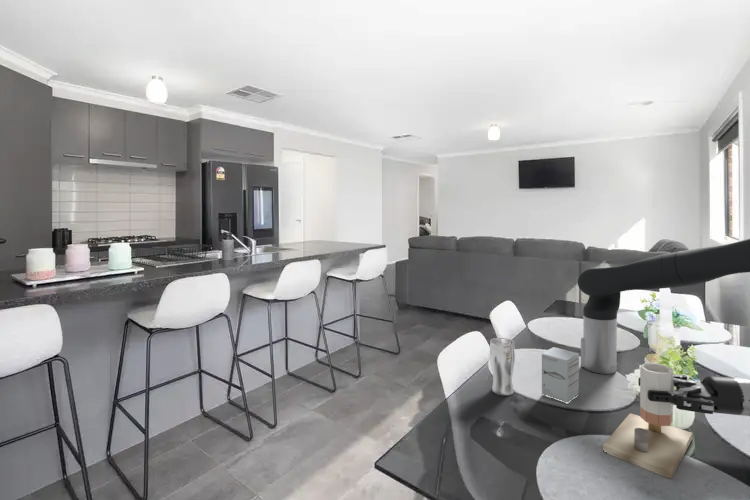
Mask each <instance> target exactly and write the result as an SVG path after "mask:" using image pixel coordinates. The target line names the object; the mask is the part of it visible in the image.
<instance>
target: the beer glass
mask: <svg viewBox="0 0 750 500" xmlns="http://www.w3.org/2000/svg"><path fill="white" fill-rule="evenodd" d="M489 341H490V342H489V343H490V344H489V361H490V367H491V373H492V378H493V379H492V380H493V382H492V387H491V390H492V393H494V394H495V395H498V396H502V397H506V396H512V395H513V394H514V392H515V389H514V384H513V377H514V371H515V370H514V369H515V362H516V351H515V341H514V340H513V339H511V338H508V337H507V338H506V337H494V338H491V339H490V340H489Z"/></svg>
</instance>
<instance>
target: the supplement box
mask: <svg viewBox="0 0 750 500" xmlns="http://www.w3.org/2000/svg"><path fill="white" fill-rule="evenodd" d="M579 381H580V353H579V352H576V351H575V352H574V351H570V350H567V349H563V348H559V347H557V346H556V347H554V346H552V347H551V348H549V349H547V350H545V351H544V352H542V353H541V395H542V394H544V395H548V396H550V397H553V398H556V399H559V400H562V401H564V402H569V401H570V400H572V399H573V398H574V397H576V396H577V395H578V396H579V390H580V389H579V387H580V382H579ZM576 398H577V397H576Z"/></svg>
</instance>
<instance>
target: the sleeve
mask: <svg viewBox="0 0 750 500" xmlns="http://www.w3.org/2000/svg"><path fill="white" fill-rule="evenodd" d="M639 368H640V369H639V371H640V372H639V374H640V376H639V378H640V386H639V416H640V417H641V418H642V419H643V420H644V421H645V422H647V423H651V424H654V425H657V426H672V423H673V419H674V418H673V415H674V412H673V410H674V405H671V404H670V402H669V403H667V402H656V401H650V400H649V399H648V390H657V391H668V392H669V394H670V392H673V374H674V369H672V367H671V368H670V367H669V366H668V365H664V364H659V363H655V362H646V363H642V364H641V365H640V367H639Z"/></svg>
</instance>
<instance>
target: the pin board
mask: <svg viewBox="0 0 750 500" xmlns="http://www.w3.org/2000/svg"><path fill="white" fill-rule="evenodd" d="M692 440H693V432H690V431H687V430H685V429H683V428H682V429H681V428H678V427H675V426H673V425H670V426H657V425H654V424H651V423H647V422H645V421H644V420H643V419H642V418H641V417H640V415H638V414H633V413H630V412H629V414H628V415H627V416H626V417H625V418H624V419H623V420H622V422H621V423H620V424H619V425H618V427H617V428H616V429H615V430H614V431H613V432H612V434H611V435H610V436H609V437H608V438H607V439H606V440H605V442H604V443H603V444H602V451H603V450H604V451H606V452H607V453H606V454H608V453H609V454H608V455H610V454H612V455H611V456H612V457H615V458H618V459H621V460H622V461H625V462H628V463H630V464H633V465H635V466H637V467H640V468H642V469H645V470H648V471H650V472H652V473H655V474H657V475H660V476H662V477H664V478H665V477H666V478H667V479H670V480H672V479H673V476H674V474H675V473H676V471H677V469H678V468H679V467H678V466H679V464H680V463H681V462H682V459H683V458H684V456H685V453H686V452H687V450H688V448H689V446H690V444H691V442H692Z"/></svg>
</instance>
